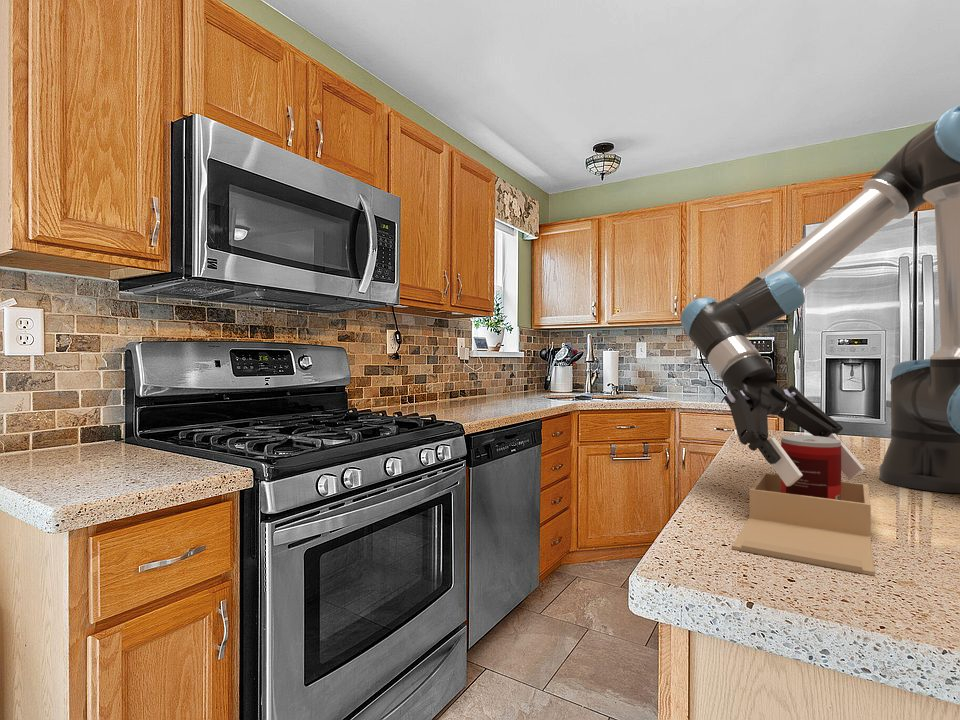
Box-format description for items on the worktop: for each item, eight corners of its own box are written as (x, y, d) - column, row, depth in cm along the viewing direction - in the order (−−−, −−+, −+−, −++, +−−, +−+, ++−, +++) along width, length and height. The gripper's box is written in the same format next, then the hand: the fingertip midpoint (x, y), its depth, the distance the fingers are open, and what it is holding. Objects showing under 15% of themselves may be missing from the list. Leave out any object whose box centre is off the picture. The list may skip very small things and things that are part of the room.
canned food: (822, 506, 84) (823, 435, 84) (853, 521, 76) (853, 443, 76) (771, 504, 85) (771, 434, 84) (796, 519, 77) (796, 442, 77)
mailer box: (762, 499, 90) (762, 472, 90) (867, 513, 82) (867, 484, 82) (731, 549, 66) (731, 512, 66) (874, 576, 58) (874, 534, 58)
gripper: (780, 382, 99) (865, 485, 84) (673, 384, 90) (747, 498, 76) (807, 353, 94) (902, 457, 79) (696, 352, 85) (780, 468, 71)
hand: (826, 477), depth 78 cm, fingers open, 12 cm apart
